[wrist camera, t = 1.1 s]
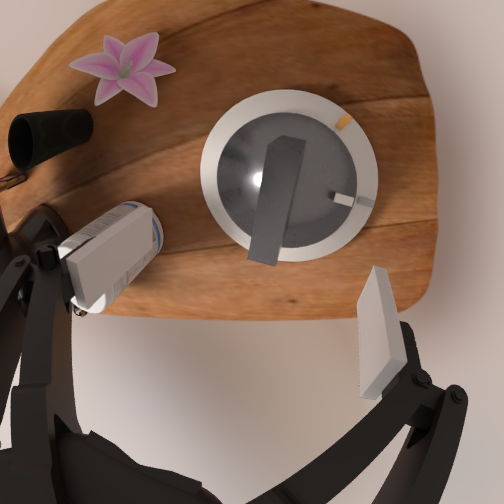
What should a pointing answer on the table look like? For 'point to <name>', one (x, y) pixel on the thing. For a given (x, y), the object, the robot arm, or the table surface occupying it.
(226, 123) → the dial base
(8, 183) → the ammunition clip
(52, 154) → the cup
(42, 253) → the robot arm
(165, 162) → the table surface
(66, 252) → the supplement tub
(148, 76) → the lily
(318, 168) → the dial
